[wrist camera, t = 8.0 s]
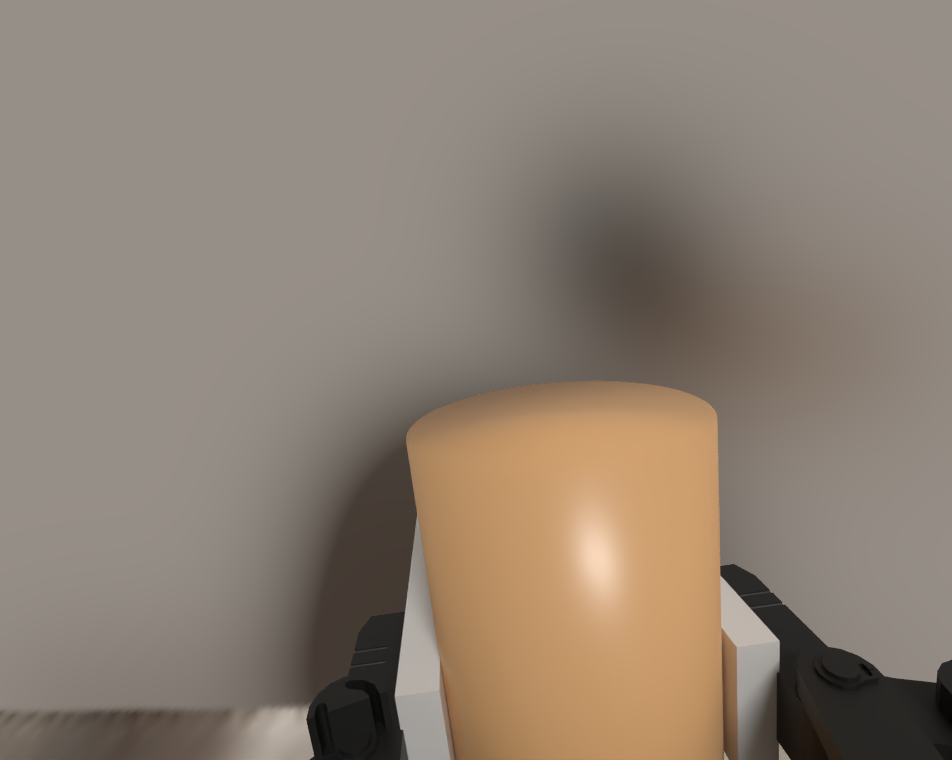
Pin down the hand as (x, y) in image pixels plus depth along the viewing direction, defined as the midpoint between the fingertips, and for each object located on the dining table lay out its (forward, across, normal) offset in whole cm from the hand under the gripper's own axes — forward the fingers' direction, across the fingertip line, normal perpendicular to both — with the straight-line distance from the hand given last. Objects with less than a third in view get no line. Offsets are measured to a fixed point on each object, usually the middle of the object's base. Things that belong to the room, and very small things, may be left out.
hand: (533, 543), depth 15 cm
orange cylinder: (-5, 0, -8) cm, 9 cm away
